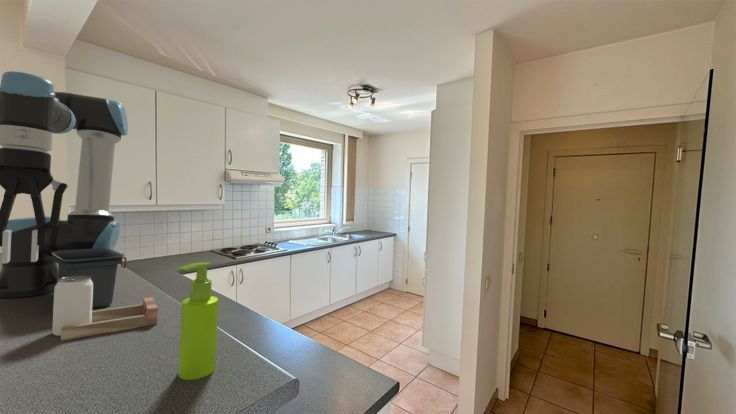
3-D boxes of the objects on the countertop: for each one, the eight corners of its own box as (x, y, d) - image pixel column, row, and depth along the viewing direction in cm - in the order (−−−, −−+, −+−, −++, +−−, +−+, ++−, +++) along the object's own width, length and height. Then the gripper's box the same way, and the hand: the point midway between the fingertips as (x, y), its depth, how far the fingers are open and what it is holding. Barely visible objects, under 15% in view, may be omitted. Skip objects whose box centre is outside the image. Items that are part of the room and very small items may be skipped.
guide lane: (65, 324, 74) (66, 308, 74) (151, 311, 85) (152, 297, 85) (60, 340, 66) (61, 322, 66) (156, 324, 77) (157, 308, 77)
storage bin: (45, 298, 91) (48, 250, 91) (112, 289, 103) (114, 246, 103) (60, 317, 78) (63, 261, 78) (134, 304, 90) (136, 255, 90)
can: (67, 338, 67) (69, 283, 67) (44, 334, 68) (46, 280, 68) (98, 327, 73) (101, 276, 73) (76, 324, 75) (79, 274, 75)
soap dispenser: (164, 377, 55) (170, 264, 55) (199, 360, 61) (204, 258, 61) (188, 386, 52) (194, 268, 52) (221, 367, 59) (227, 262, 59)
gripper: (-45, 140, 57) (-51, 268, 57) (78, 154, 68) (72, 261, 68) (-31, 145, 63) (-37, 261, 63) (79, 156, 73) (75, 256, 73)
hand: (20, 261), depth 65 cm, fingers open, 3 cm apart
